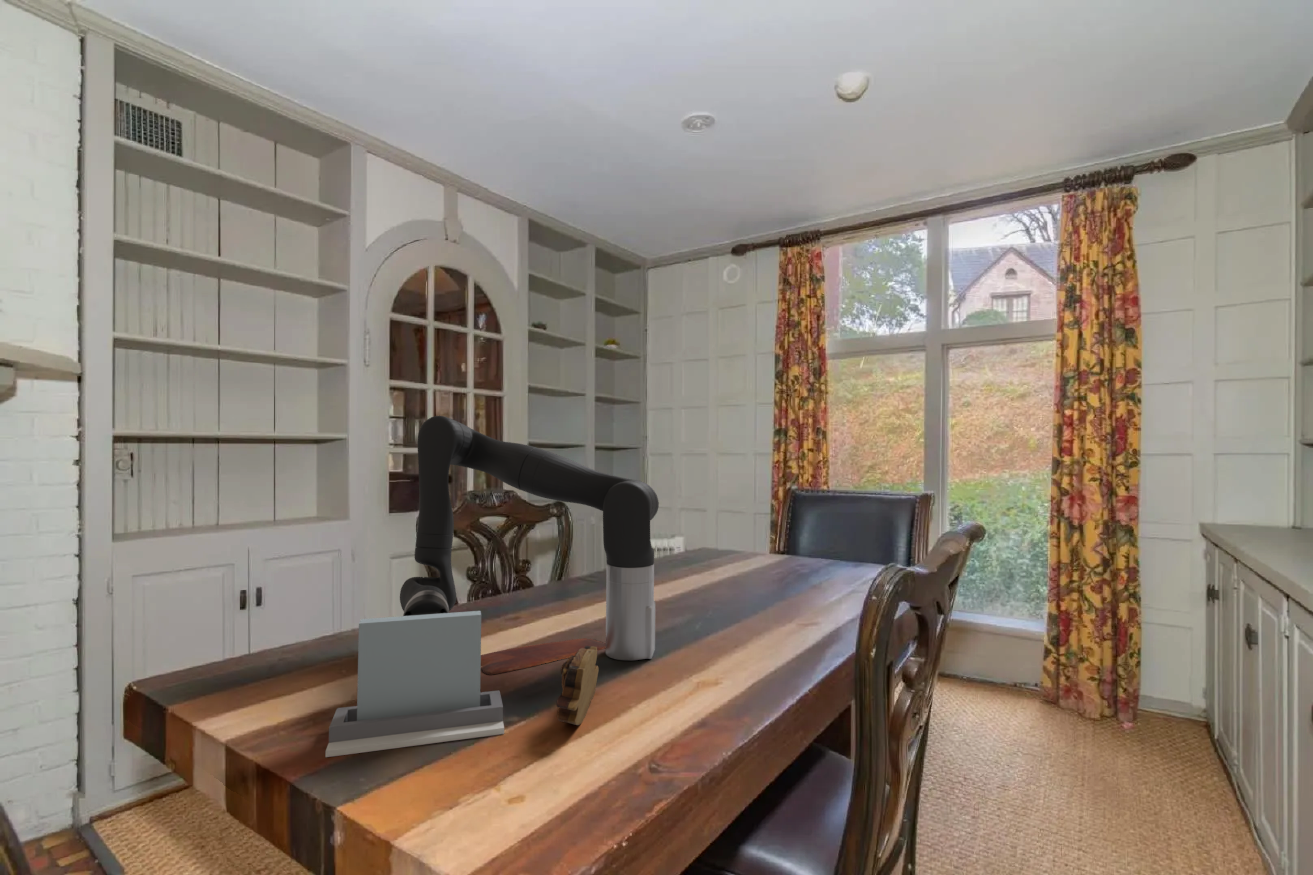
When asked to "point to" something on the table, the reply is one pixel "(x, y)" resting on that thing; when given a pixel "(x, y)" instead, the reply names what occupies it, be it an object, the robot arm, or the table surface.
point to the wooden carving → (577, 685)
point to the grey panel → (418, 664)
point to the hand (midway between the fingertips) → (423, 642)
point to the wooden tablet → (533, 655)
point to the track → (414, 727)
